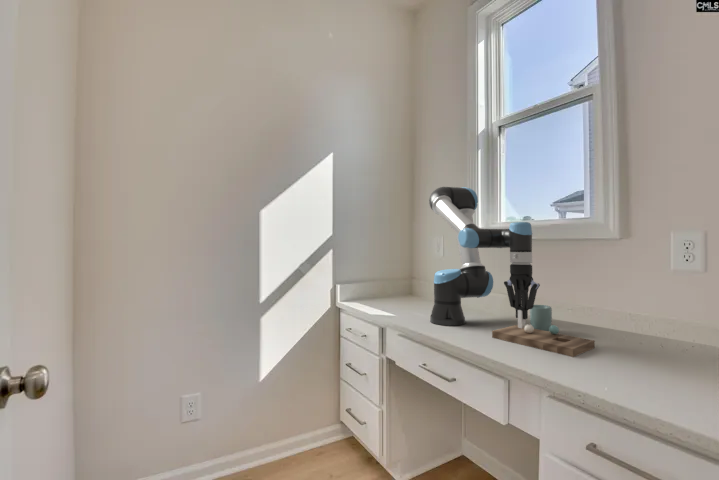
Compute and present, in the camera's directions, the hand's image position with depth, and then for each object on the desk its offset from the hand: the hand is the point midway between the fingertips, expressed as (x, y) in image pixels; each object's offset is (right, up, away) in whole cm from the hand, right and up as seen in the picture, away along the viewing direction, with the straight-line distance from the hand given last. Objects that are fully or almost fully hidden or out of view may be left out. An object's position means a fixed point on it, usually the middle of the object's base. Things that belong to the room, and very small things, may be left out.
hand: (521, 327), depth 130 cm
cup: (+12, -4, +10) cm, 17 cm away
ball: (+2, 0, -2) cm, 3 cm away
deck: (+4, -4, -5) cm, 8 cm away
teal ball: (+10, 0, -4) cm, 11 cm away
